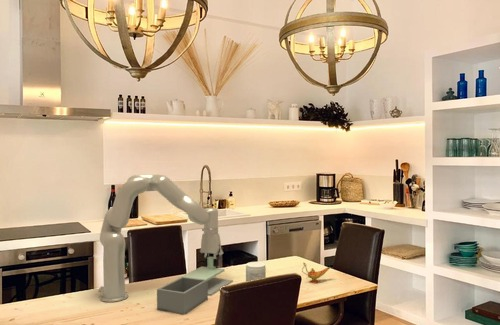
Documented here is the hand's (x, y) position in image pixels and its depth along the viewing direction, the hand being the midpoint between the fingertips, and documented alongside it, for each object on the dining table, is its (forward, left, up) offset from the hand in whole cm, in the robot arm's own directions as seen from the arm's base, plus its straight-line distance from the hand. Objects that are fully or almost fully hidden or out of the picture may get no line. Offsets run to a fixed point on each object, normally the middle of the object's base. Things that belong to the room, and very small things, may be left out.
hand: (211, 265), depth 223 cm
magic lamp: (+52, +21, -9) cm, 57 cm away
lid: (0, -9, -4) cm, 9 cm away
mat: (0, -8, -8) cm, 12 cm away
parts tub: (+5, -35, -8) cm, 37 cm away
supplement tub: (+30, -10, -9) cm, 33 cm away
